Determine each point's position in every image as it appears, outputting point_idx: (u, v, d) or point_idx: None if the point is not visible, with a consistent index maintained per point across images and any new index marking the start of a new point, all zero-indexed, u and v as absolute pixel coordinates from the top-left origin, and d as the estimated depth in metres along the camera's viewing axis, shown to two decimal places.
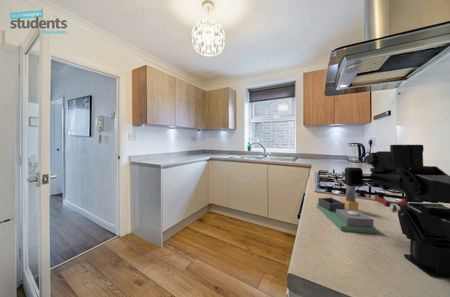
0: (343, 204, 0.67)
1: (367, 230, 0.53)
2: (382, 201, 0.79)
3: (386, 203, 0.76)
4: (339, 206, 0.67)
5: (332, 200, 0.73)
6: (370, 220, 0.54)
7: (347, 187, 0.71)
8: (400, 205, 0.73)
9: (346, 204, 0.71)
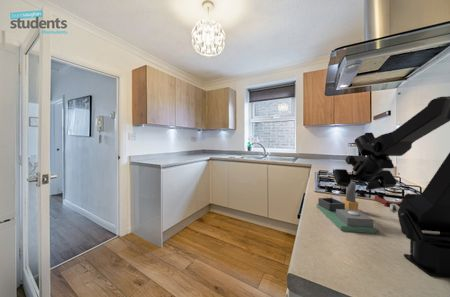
0: (343, 204, 0.67)
1: (367, 230, 0.53)
2: (382, 201, 0.79)
3: (386, 203, 0.75)
4: (339, 206, 0.67)
5: (332, 200, 0.73)
6: (370, 220, 0.54)
7: (347, 187, 0.71)
8: None
9: (346, 204, 0.71)
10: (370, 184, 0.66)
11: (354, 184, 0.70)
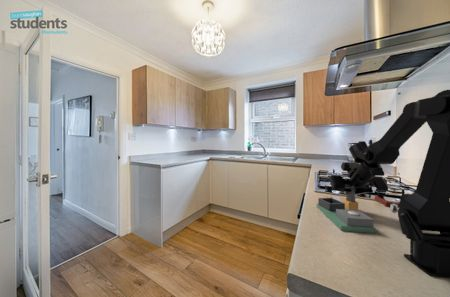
0: (343, 204, 0.67)
1: (367, 230, 0.53)
2: (382, 201, 0.78)
3: (386, 203, 0.75)
4: (339, 206, 0.67)
5: (332, 200, 0.73)
6: (370, 220, 0.54)
7: None
8: None
9: (346, 204, 0.72)
10: (356, 189, 0.70)
11: None
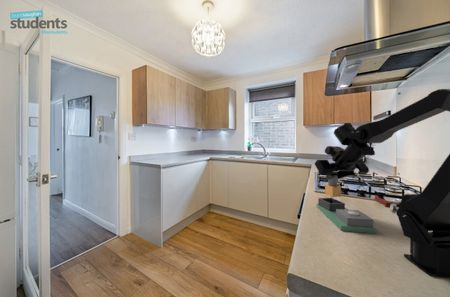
0: (343, 204, 0.67)
1: (367, 230, 0.53)
2: (382, 202, 0.78)
3: (386, 204, 0.75)
4: (339, 206, 0.67)
5: (332, 200, 0.73)
6: (370, 220, 0.54)
7: None
8: None
9: (329, 189, 0.70)
10: (338, 173, 0.69)
11: None
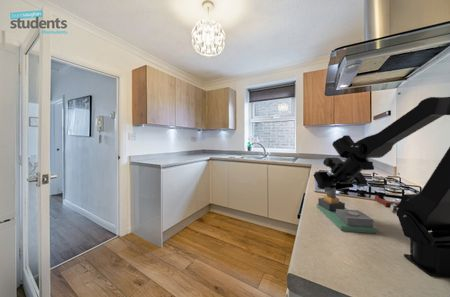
0: (343, 204, 0.67)
1: (367, 230, 0.53)
2: (382, 202, 0.78)
3: (386, 204, 0.75)
4: (339, 206, 0.67)
5: None
6: (370, 220, 0.54)
7: None
8: None
9: (327, 201, 0.69)
10: (337, 185, 0.69)
11: None
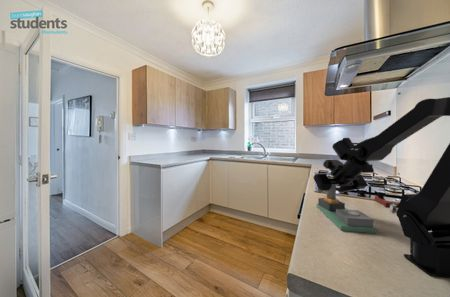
0: (343, 204, 0.67)
1: (367, 230, 0.53)
2: (382, 202, 0.78)
3: (386, 204, 0.74)
4: (339, 206, 0.67)
5: None
6: (370, 220, 0.54)
7: None
8: None
9: None
10: (343, 186, 0.69)
11: None
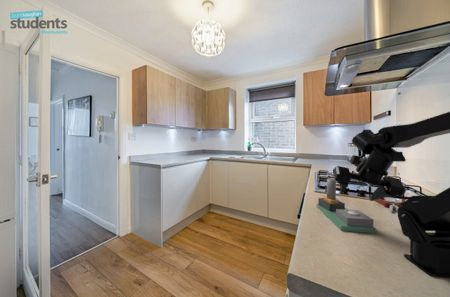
0: (343, 204, 0.67)
1: (367, 230, 0.53)
2: (382, 202, 0.77)
3: (386, 204, 0.74)
4: (339, 206, 0.67)
5: None
6: (370, 220, 0.54)
7: (328, 184, 0.69)
8: None
9: None
10: (375, 193, 0.58)
11: (335, 181, 0.68)
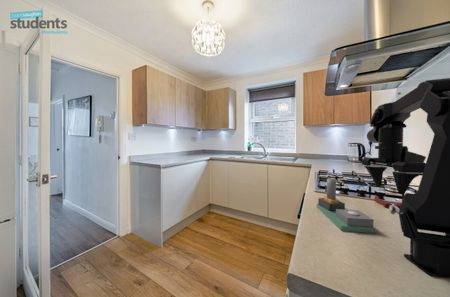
0: (343, 204, 0.67)
1: (367, 230, 0.53)
2: (382, 202, 0.77)
3: (385, 204, 0.74)
4: (339, 206, 0.67)
5: None
6: (370, 220, 0.54)
7: (328, 184, 0.69)
8: (400, 207, 0.71)
9: None
10: None
11: (335, 181, 0.68)
